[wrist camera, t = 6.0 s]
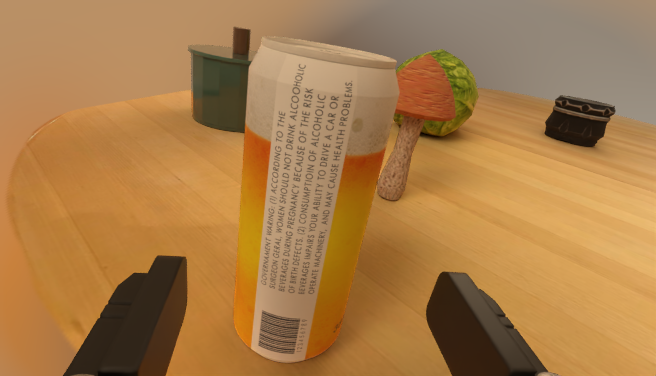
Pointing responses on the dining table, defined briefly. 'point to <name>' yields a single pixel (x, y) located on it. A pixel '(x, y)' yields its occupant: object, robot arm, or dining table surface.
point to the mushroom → (415, 117)
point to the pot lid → (229, 49)
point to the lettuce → (462, 92)
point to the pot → (219, 93)
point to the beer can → (307, 189)
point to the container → (578, 120)
